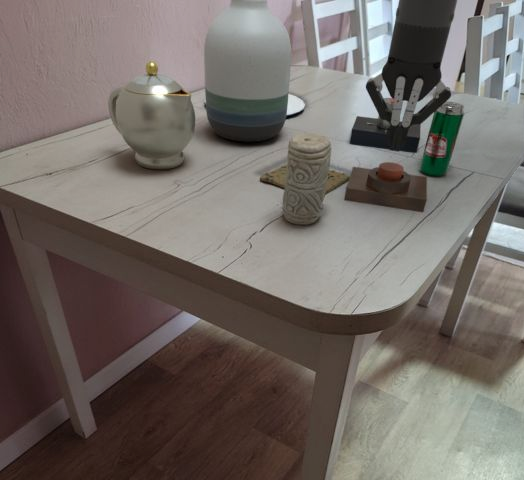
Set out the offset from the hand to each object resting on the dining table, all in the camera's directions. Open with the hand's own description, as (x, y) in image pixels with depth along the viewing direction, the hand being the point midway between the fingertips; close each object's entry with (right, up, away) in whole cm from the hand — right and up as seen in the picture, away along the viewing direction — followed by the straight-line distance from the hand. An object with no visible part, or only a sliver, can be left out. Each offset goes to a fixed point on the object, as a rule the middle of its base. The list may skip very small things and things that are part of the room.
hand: (394, 149), depth 78 cm
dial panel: (+5, +13, +28) cm, 32 cm away
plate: (-23, +29, +44) cm, 57 cm away
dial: (+6, +16, +26) cm, 31 cm away
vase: (-25, +14, +27) cm, 39 cm away
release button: (0, -3, +3) cm, 5 cm away
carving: (-15, -12, -2) cm, 19 cm away
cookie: (-13, -2, +9) cm, 16 cm away
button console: (0, -5, +6) cm, 8 cm away
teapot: (-41, +3, +13) cm, 44 cm away
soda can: (+11, +2, +15) cm, 19 cm away
